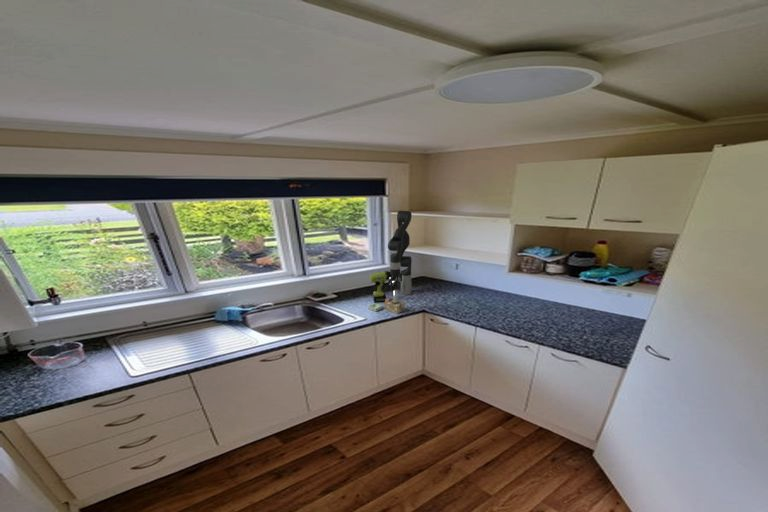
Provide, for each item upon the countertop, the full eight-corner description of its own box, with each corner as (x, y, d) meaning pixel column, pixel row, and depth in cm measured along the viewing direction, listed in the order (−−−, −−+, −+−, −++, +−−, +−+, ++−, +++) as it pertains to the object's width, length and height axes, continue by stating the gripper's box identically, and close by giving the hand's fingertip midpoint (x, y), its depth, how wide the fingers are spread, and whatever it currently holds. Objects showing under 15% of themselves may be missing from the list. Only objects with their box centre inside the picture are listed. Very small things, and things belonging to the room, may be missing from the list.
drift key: (387, 306, 241) (387, 298, 239) (390, 307, 239) (390, 299, 238) (385, 307, 239) (385, 299, 237) (388, 308, 237) (388, 300, 235)
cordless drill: (397, 298, 260) (397, 269, 254) (399, 301, 253) (399, 271, 247) (370, 300, 256) (369, 271, 250) (371, 303, 249) (370, 273, 244)
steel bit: (395, 309, 237) (394, 289, 233) (398, 310, 235) (398, 290, 231) (392, 310, 234) (392, 290, 231) (395, 311, 232) (395, 291, 229)
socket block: (394, 306, 241) (394, 299, 240) (404, 309, 235) (404, 302, 234) (386, 310, 234) (386, 303, 232) (396, 314, 228) (396, 306, 226)
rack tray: (374, 306, 243) (374, 303, 243) (382, 308, 238) (382, 305, 238) (368, 309, 237) (368, 306, 236) (376, 311, 232) (376, 308, 232)
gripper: (393, 270, 219) (393, 292, 223) (405, 266, 230) (404, 287, 234) (385, 269, 224) (385, 290, 227) (396, 265, 235) (396, 285, 238)
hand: (395, 288), depth 231 cm, fingers open, 8 cm apart
